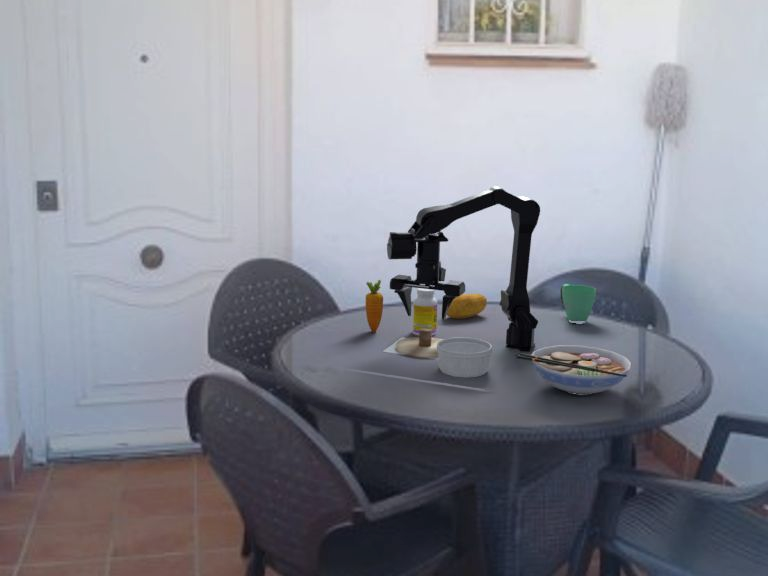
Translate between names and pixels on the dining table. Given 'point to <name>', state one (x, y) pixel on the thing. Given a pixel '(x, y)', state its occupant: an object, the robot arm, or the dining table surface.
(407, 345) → the lid
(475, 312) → the potato
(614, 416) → the dining table surface
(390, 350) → the mat
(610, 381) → the ramen bowl
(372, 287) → the carrot
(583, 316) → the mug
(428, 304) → the supplement bottle
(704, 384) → the dining table surface
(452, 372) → the ramekin
